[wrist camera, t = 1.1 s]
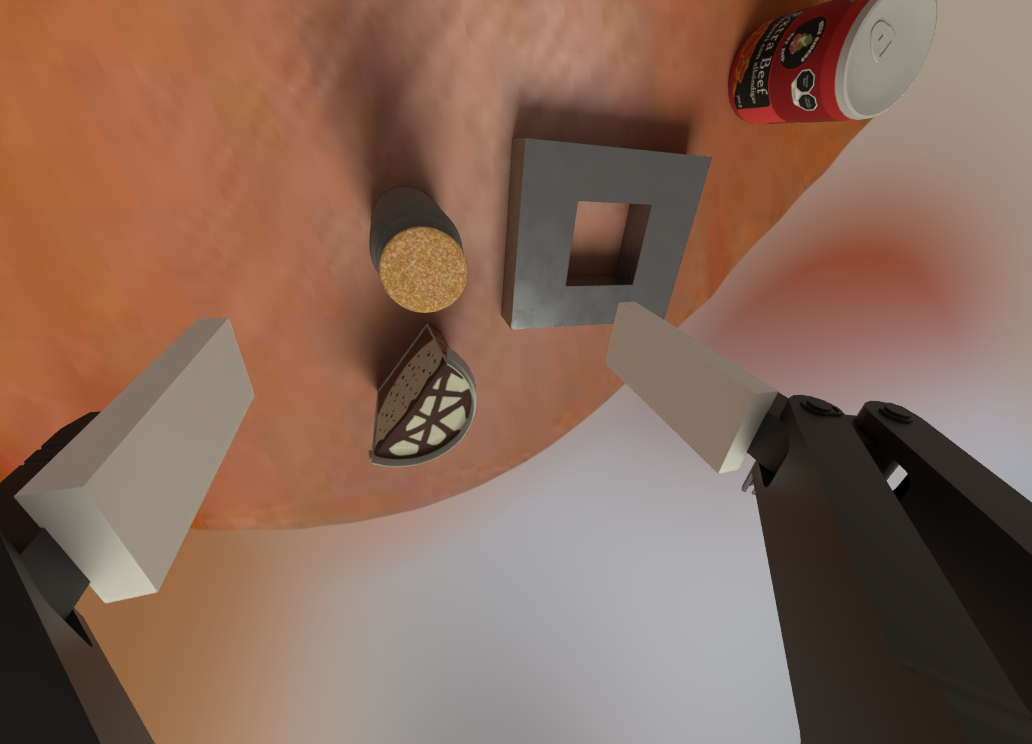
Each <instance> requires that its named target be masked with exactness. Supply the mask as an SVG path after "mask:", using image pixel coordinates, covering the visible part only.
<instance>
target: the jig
mask: <svg viewBox="0 0 1032 744" xmlns="http://www.w3.org/2000/svg"><path fill="white" fill-rule="evenodd" d="M711 159H712V157H706V156H696V155H686V154H677V153H667V152H657V151H647V150H637V149H628V148H618V147H608V146H598V145H589V144H579V143H569V142H559V141H549V140H540V139H530V138H512V153H511V169H510V186H509V202H508V219H507V235H506V251H505V268H504V284H503V301H502V317H503V318H504V320H505V321H506V323H507V324H508V326H509V327H510V328H511V329H524V328H542V327H559V326H577V325H594V324H612V323H614V321H615V317H616V312H617V308H618V303H621V302H636V303H638V304H639V305H641V306H643V307H644V308H646V309H647V310H649V311H651V312H652V313H654V314H656V315H657V316H659V317H660V318H662V319H664V318H665V315H666V311H667V308H668V305H669V301H670V298H671V294H672V291H673V288H674V284H675V281H676V278H677V274H678V271H679V267H680V264H681V261H682V257H683V254H684V251H685V247H686V244H687V240H688V237H689V234H690V230H691V227H692V223H693V220H694V217H695V213H696V210H697V207H698V203H699V200H700V196H701V193H702V190H703V186H704V183H705V180H706V176H707V173H708V169H709V166H710V163H711ZM578 201H590V202H610V203H629V204H630V208H629V213H628V218H627V222H626V227H625V232H624V236H623V241H622V246H621V251H620V255H619V260H618V265H617V269H616V274H615V275H582V276H567V272H568V266H569V259H570V252H571V245H572V238H573V231H574V225H575V218H576V211H577V204H578Z"/></svg>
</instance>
